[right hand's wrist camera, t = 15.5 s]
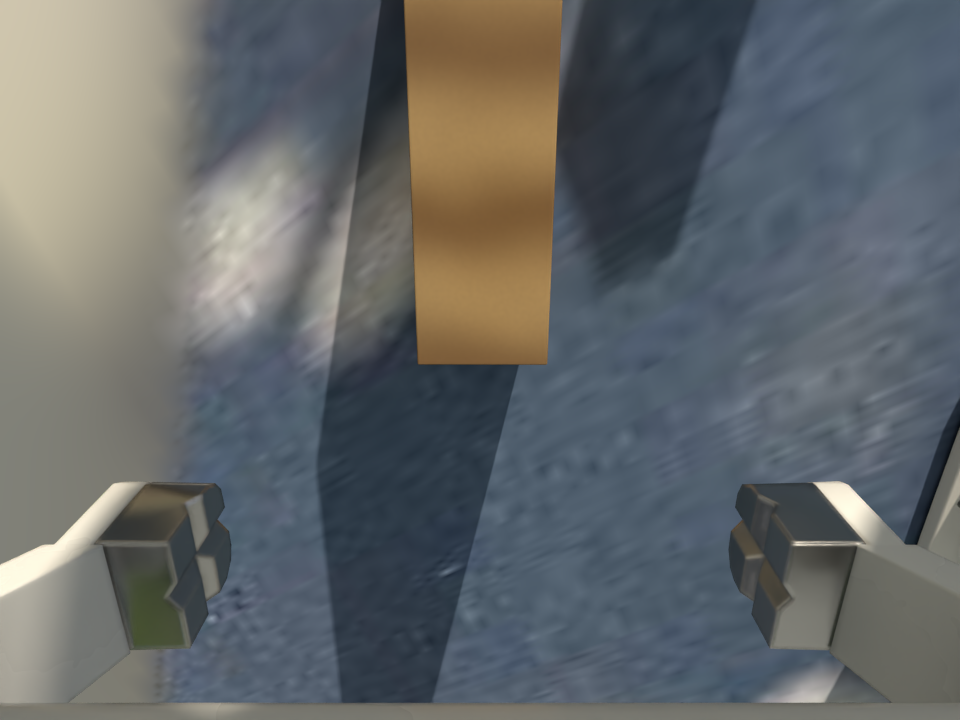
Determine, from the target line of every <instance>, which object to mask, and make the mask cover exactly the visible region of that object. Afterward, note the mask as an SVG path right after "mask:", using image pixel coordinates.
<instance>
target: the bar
mask: <svg viewBox="0 0 960 720" xmlns="http://www.w3.org/2000/svg"><path fill="white" fill-rule="evenodd" d="M404 20H405V46H406V72H407V98H408V124H409V151H410V177H411V203H412V229H413V255H414V281H415V307H416V333H417V359H418V364H419V365H546V364H547V355H548V331H549V307H550V284H551V260H552V236H553V212H554V188H555V164H556V140H557V117H558V93H559V69H560V45H561V21H562V0H404Z"/></svg>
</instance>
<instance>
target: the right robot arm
mask: <svg viewBox="0 0 960 720" xmlns="http://www.w3.org/2000/svg"><path fill="white" fill-rule="evenodd" d="M224 508H225V506H224V501H223V496H222V492H221V489H220V488H219V487H218V486H217V485H216V484H215V483H178V482H152V483H151V482H119V483H115V484H113V485H111V487H110V488H109V489H108V490H107V491H106V492H105V493H104V494H103V495H102V496H101V497H100V498H99V499H98V500H97V501H96V502H95V503H94V504H93V505H92V506H91V507H90V508H89V509H88V510H87V511H86V512H85V513H84V514H83V516H82V517H81V518H80V519H79V520H78V521H77V522H76V523H75V524H74V525H73V526H72V527H71V528H70V529H69V530H68V531H67V532H66V533H65V534H64V535H63V536H62V537H61V538H60V539H59V540H58V541H57V543H55V544H54V545H42V546H40V547H38V548H35V549H33V550H31V551H29V552H27V553H25V554H22V555H20V556H18V557H16V558H14V559H12V560H10V561H7V562H5V563H3V564H1V565H0V720H960V428H959V430H958V433H957V436H956V439H955V441H954V444H953V447H952V450H951V452H950V455H949V458H948V461H947V463H946V466H945V469H944V472H943V474H942V477H941V480H940V483H939V485H938V488H937V491H936V494H935V496H934V499H933V502H932V505H931V507H930V510H929V513H928V516H927V518H926V521H925V524H924V527H923V529H922V532H921V535H920V538H919V541H918V544H917V545H906V544H905V543H904V542H903V541H902V540H901V539H900V538H899V537H898V536H897V535H896V534H895V533H894V532H893V531H892V530H891V529H890V528H889V527H888V526H887V525H886V524H885V523H884V522H883V521H882V520H881V518H880V517H879V516H878V515H877V514H876V513H875V512H874V511H873V510H872V509H871V508H870V507H869V506H868V505H867V504H866V503H865V502H864V501H863V500H862V499H861V498H860V497H859V496H858V495H857V494H856V493H855V491H854V490H853V489H852V488H851V487H850V486H849V485H847V484H845V483H842V482H840V481H835V482H808V483H777V484H742V486H741V488H740V490H739V492H738V495H737V500H736V505H735V508H736V509H737V511H738V513H739V514H740V516H741V518H742V519H743V520H742V521H741V522H740V523H739V524H738V525H737V526H736V527H735V528H734V529H733V530H732V531H731V535H730V542H729V560H730V569H731V572H732V575H733V579H734V581H735V583H736V585H737V587H738V589H739V591H740V593H742V594H743V595H745V596H746V597H748V598H749V599H751V600H752V601H754V603H753V608H752V616H753V618H754V620H755V622H756V623H757V625H758V627H759V629H760V631H761V633H762V635H763V636H764V638H765V640H766V642H767V644H768V646H769V648H772V649H808V650H830V654H832V655H833V656H834V657H835V658H837V659H838V660H839V661H840V662H842V663H843V664H844V665H845V666H847V667H848V668H849V669H850V670H852V671H853V672H854V673H855V674H857V675H858V676H859V677H860V678H862V679H863V680H864V681H865V682H867V683H868V684H869V685H870V686H872V687H873V688H874V689H875V690H876V691H878V692H879V693H880V694H881V695H883V696H884V697H885V698H886V699H888V700H889V701H890V702H891V703H69V702H70V701H71V700H72V699H74V698H75V697H76V696H77V695H79V694H80V693H81V692H82V691H84V690H85V689H86V688H87V687H89V686H90V685H91V684H92V683H94V682H95V681H96V680H97V679H99V678H100V677H101V676H102V675H104V674H105V673H106V672H107V671H109V670H110V669H111V668H112V667H114V666H115V665H116V664H117V663H119V662H120V661H121V660H122V659H124V658H125V657H126V656H127V655H129V654H130V650H151V649H186V648H191V646H192V644H193V642H194V640H195V638H196V637H197V635H198V633H199V631H200V629H201V627H202V625H203V623H204V622H205V620H206V618H207V616H208V608H207V603H206V601H208V600H209V599H211V598H212V597H214V596H215V595H217V594H218V593H220V591H221V589H222V587H223V585H224V583H225V581H226V579H227V576H228V571H229V567H230V562H231V541H230V534H229V531H228V530H227V529H226V528H225V527H224V526H223V525H222V524H221V523H220V522H219V521H218V520H217V519H218V518H219V516H220V514H221V513H222V511H223V509H224Z"/></svg>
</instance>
